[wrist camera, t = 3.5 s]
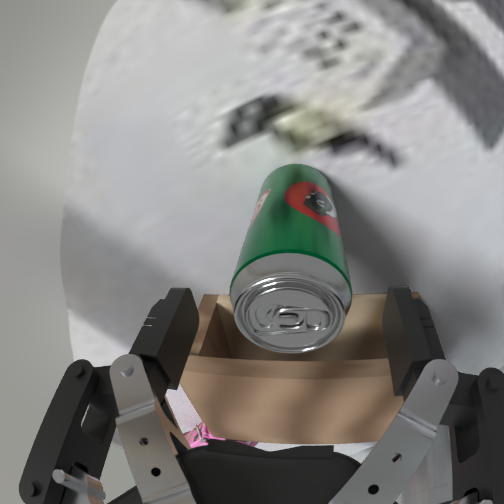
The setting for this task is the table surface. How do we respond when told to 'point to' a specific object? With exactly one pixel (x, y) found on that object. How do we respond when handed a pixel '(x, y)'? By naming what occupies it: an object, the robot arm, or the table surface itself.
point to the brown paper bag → (292, 380)
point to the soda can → (292, 265)
